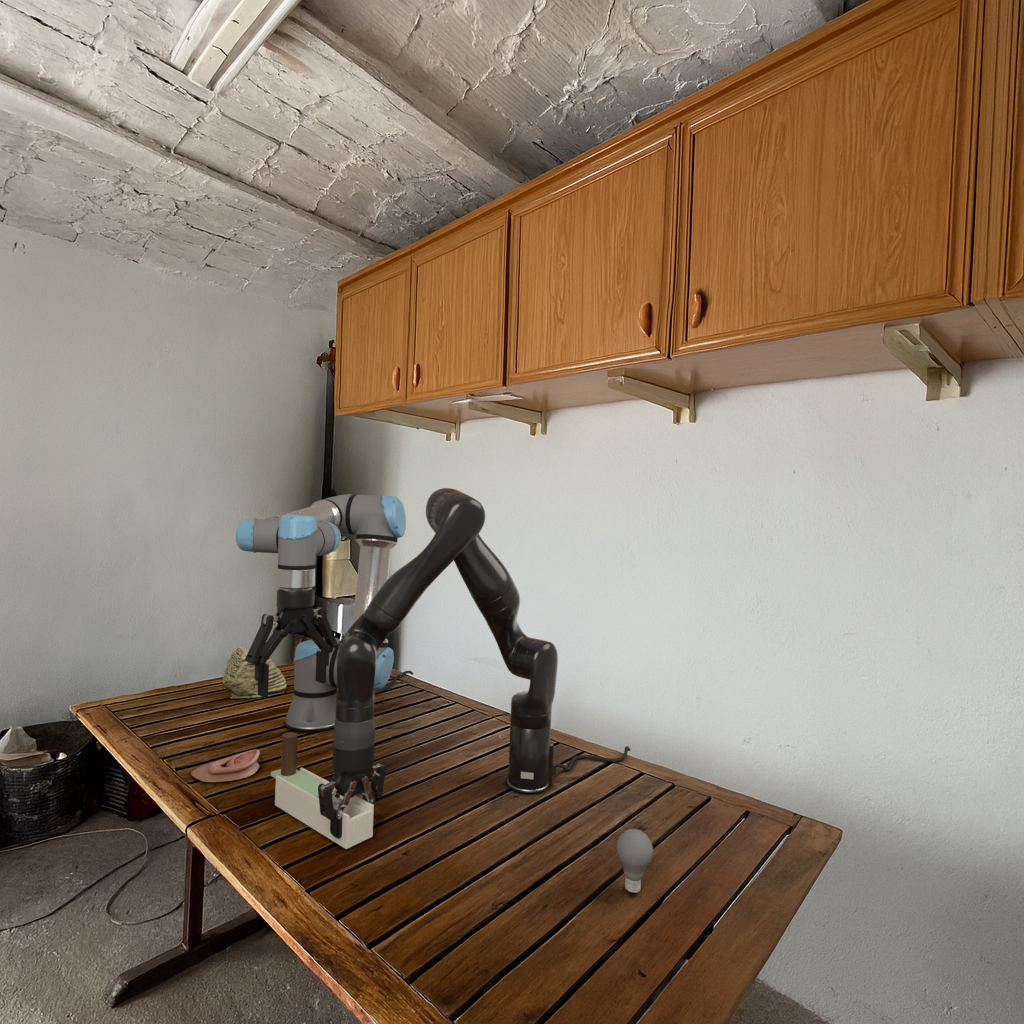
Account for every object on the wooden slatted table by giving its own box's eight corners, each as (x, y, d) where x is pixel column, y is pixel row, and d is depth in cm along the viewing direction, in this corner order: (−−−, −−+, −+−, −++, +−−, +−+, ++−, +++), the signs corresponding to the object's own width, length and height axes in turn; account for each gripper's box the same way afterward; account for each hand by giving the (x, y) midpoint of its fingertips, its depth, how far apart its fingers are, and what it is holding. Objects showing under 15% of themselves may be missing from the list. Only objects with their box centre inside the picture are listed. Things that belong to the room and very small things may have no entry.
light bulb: (610, 879, 108) (613, 822, 108) (644, 879, 109) (647, 822, 109) (619, 902, 102) (622, 840, 102) (655, 901, 103) (658, 840, 103)
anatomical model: (182, 760, 139) (216, 741, 150) (181, 778, 139) (216, 758, 150) (236, 768, 136) (267, 748, 147) (235, 786, 136) (266, 765, 147)
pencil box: (274, 805, 130) (275, 776, 129) (300, 795, 134) (301, 767, 134) (346, 849, 114) (347, 816, 114) (372, 836, 119) (373, 805, 119)
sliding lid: (270, 775, 132) (272, 733, 132) (289, 769, 135) (291, 728, 135) (316, 800, 122) (317, 755, 122) (335, 793, 125) (337, 748, 125)
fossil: (218, 695, 195) (220, 647, 195) (278, 685, 208) (279, 640, 207) (228, 703, 189) (230, 653, 188) (289, 692, 201) (290, 645, 201)
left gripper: (335, 581, 145) (332, 673, 145) (229, 591, 125) (226, 697, 126) (355, 585, 140) (352, 680, 141) (248, 596, 121) (245, 707, 121)
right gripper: (372, 725, 126) (369, 809, 126) (308, 745, 115) (306, 837, 115) (397, 735, 121) (394, 822, 121) (333, 757, 110) (330, 853, 110)
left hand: (292, 688), depth 133 cm, fingers open, 13 cm apart
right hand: (351, 829), depth 118 cm, fingers closed on pencil box, 6 cm apart
